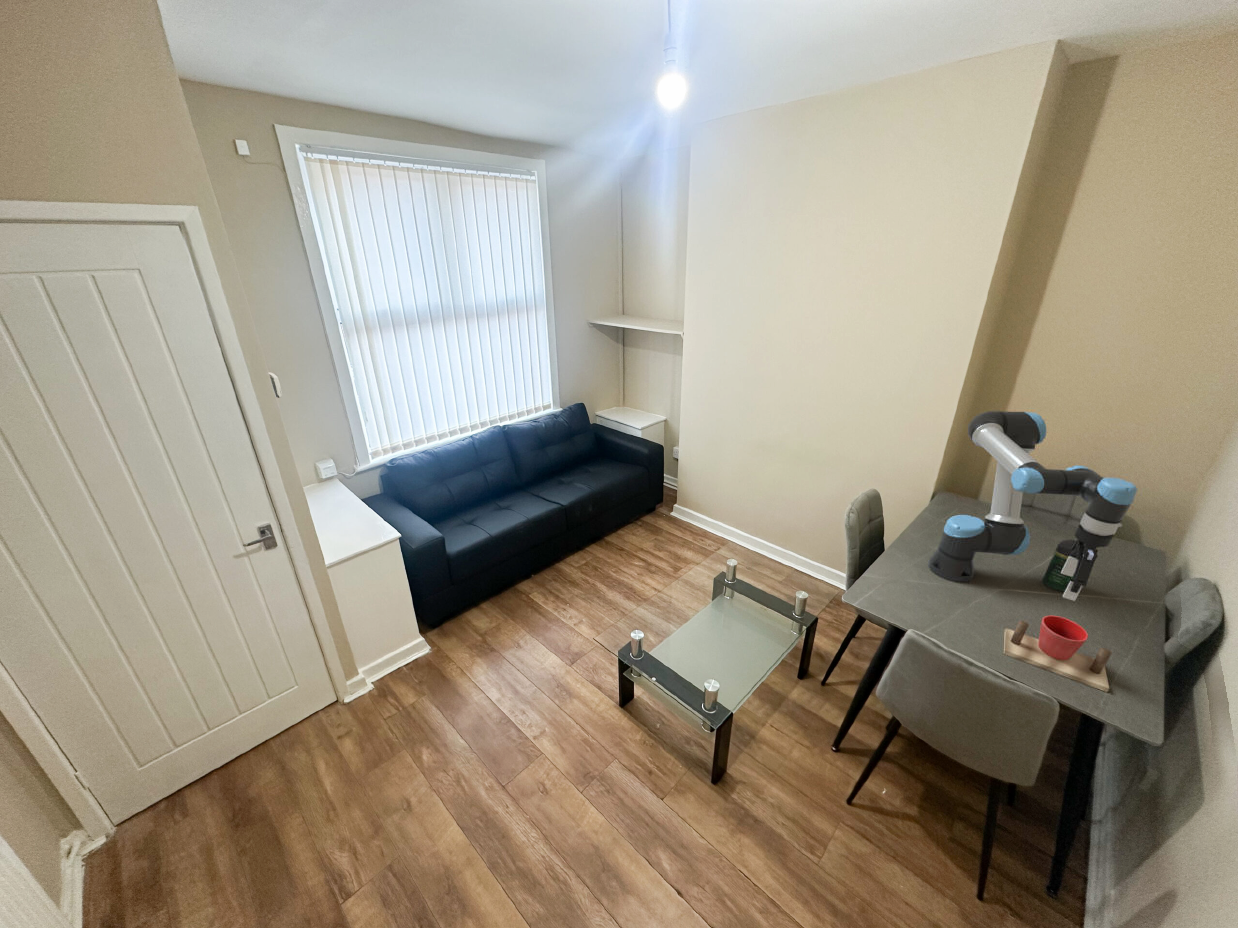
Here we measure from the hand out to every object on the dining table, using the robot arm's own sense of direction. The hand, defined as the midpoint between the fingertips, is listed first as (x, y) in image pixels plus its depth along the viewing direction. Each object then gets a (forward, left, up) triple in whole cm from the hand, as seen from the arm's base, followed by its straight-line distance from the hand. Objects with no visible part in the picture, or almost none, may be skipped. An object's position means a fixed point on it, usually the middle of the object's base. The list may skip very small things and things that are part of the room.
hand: (1067, 586), depth 146 cm
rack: (+2, -9, -22) cm, 24 cm away
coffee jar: (+5, +38, -22) cm, 45 cm away
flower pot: (+2, -6, -21) cm, 22 cm away
